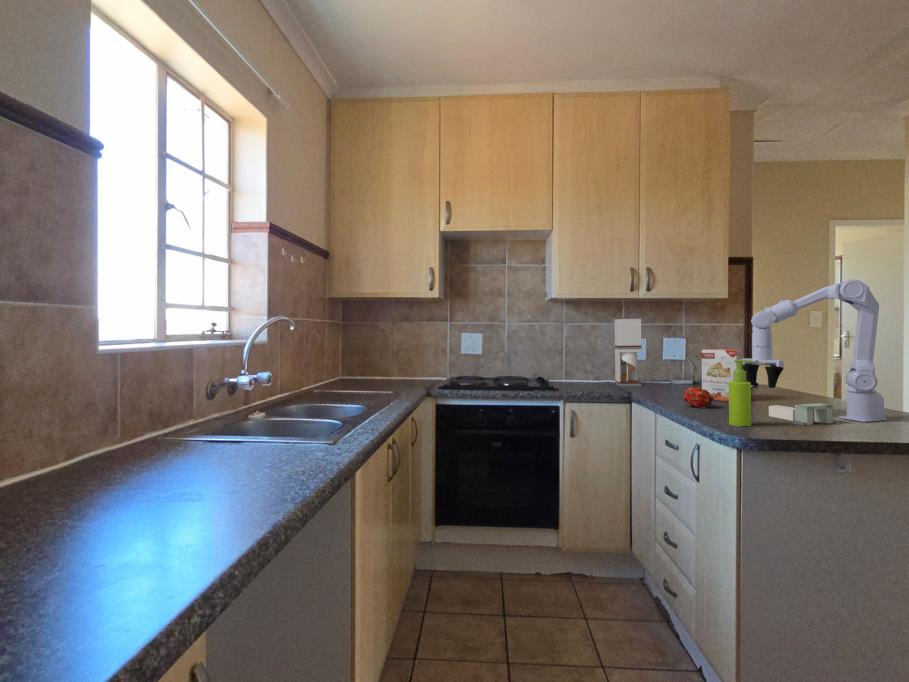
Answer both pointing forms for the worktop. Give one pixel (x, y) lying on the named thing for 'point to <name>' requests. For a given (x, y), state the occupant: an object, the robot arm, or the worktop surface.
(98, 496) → the worktop surface
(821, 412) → the pale green block
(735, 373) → the soap dispenser
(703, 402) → the dragon fruit
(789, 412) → the bar
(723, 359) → the cracker box
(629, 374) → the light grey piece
